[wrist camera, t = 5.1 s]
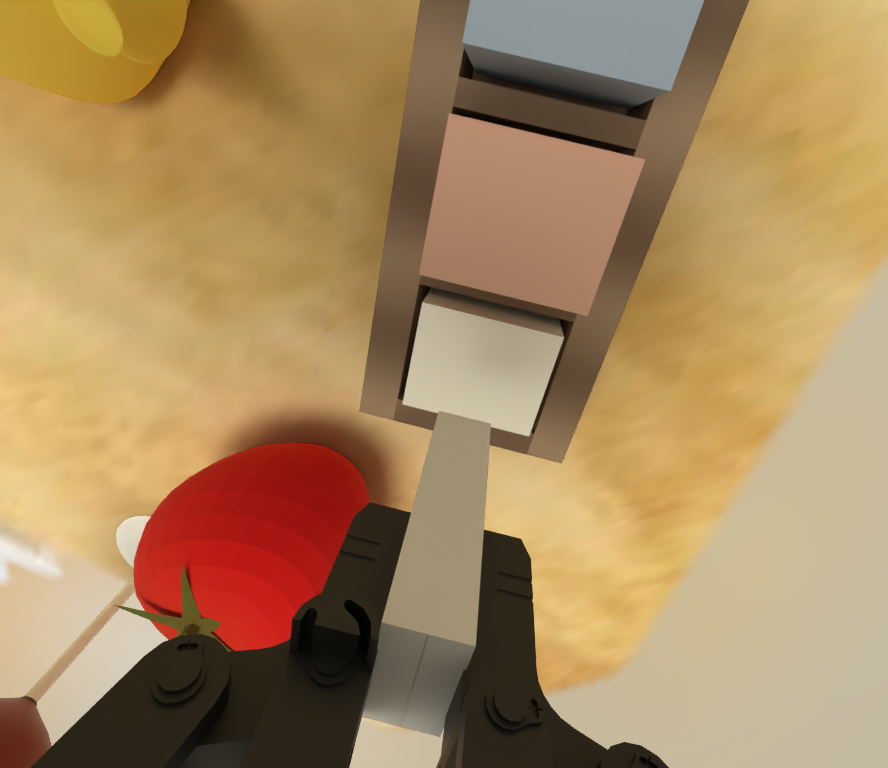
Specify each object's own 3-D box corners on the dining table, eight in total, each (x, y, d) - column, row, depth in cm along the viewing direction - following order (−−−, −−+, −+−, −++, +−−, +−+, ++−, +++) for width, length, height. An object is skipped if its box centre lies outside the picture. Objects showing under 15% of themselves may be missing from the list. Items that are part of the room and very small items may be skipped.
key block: (469, -125, 18) (453, -222, 13) (731, -66, 17) (807, -145, 13) (385, 369, 27) (359, 411, 23) (553, 412, 27) (561, 463, 22)
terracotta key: (465, 124, 18) (448, 113, 14) (612, 159, 18) (645, 159, 13) (440, 248, 20) (418, 274, 16) (571, 280, 20) (587, 316, 16)
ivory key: (440, 274, 23) (422, 302, 19) (554, 302, 23) (564, 337, 18) (422, 360, 25) (402, 404, 21) (526, 387, 25) (529, 436, 21)
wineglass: (121, 493, 34) (-302, 854, 17) (228, 550, 36) (-62, 946, 18) (99, 555, 38) (-272, 909, 20) (196, 605, 39) (-73, 983, 21)
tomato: (439, 497, 31) (401, 667, 20) (314, 585, 36) (234, 755, 26) (294, 367, 28) (166, 488, 18) (182, 484, 33) (35, 629, 23)
